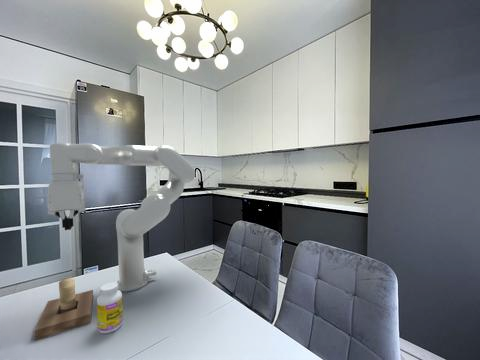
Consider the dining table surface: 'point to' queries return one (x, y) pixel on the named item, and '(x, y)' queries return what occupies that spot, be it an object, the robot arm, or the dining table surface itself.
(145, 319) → the dining table surface
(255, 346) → the dining table surface
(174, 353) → the dining table surface
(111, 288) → the supplement bottle
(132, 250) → the robot arm
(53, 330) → the board
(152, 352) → the dining table surface
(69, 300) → the peg
